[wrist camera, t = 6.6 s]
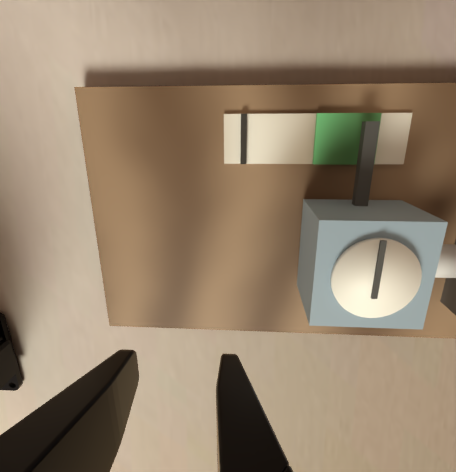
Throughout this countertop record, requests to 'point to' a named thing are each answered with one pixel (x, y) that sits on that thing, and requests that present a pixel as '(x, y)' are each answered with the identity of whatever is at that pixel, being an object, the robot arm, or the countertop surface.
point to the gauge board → (251, 193)
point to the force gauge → (370, 255)
